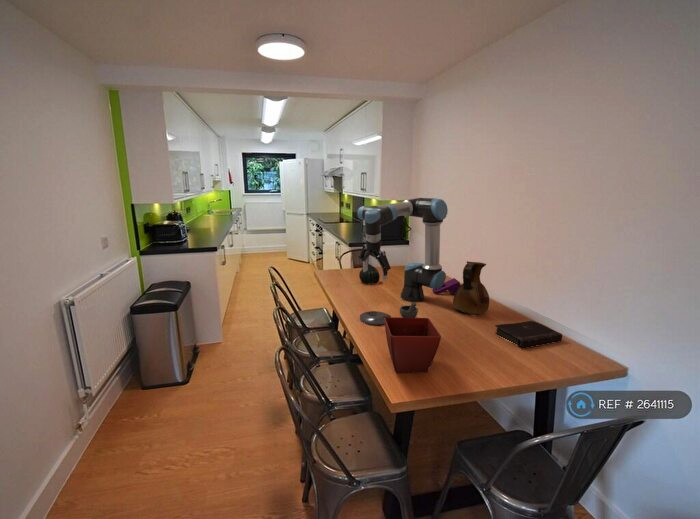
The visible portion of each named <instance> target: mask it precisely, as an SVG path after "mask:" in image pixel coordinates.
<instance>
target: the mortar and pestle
mask: <svg viewBox="0 0 700 519" xmlns="http://www.w3.org/2000/svg"><path fill="white" fill-rule="evenodd" d="M418 312H419V308H418V307H417V302H411V304H410V305H402V306H400V307H399V314H400V316H401V317H402V318H417V316H418Z"/></svg>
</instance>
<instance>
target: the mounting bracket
mask: <svg viewBox="0 0 700 519" xmlns="http://www.w3.org/2000/svg"><path fill="white" fill-rule="evenodd" d="M461 285H462V284H461V282H460V281H459V280H457V279H456V278H455V277H454V278H451V279H450V280H447V281H445V282H444V284H443V285H442V286H441V287H440V288H439V289H434V288H431V290H432V293H433V295H434V294H435V295H439V294H442V293H445V292H447V291H448V292H449V293H450V294H451V295H453V296H454V295H455V293H456V291H457V290H458V288H459V287H460V286H461Z"/></svg>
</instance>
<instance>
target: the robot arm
mask: <svg viewBox="0 0 700 519" xmlns="http://www.w3.org/2000/svg"><path fill="white" fill-rule="evenodd" d="M448 210H449V209H448V206H447V202H446V201H445V200H444V199H441V198H437V197H436V198H433V197H432V198H431V197H430V198H429V197H417V198H411V199H405V200H403V201H402V202H395V203H387V204H378V205H377V204H376V205H370V206H369V205H362V206H360V207H359V208H358V210H357V217H358V219H359V220H360V221H361V220H362V221H364V226H365V227H364V229H365V230H364V231H365V244H363V245H362V249H361V252H360V254H359V256H358V258H359V259H360V260H361V262H362V264H361V265H362V268H363V272H366V271H367V270H368V264H369V263H368V258H369V256H371V257H373V258H375V260H377V262H378V264H379V265H380V266H381V281H382V282H384V281H386V280H387V279H388V278H387V276H388V271H390V270H391V265H390V263H389V260H388V258H387V254H386V253H387V252H386V250H381V247H382V240H381V239H382V237H381V236H382V233H381V230H382V229H381V227H383V226H385V225H387V224H389V223H391V222H393V221H394V220H396V219H397V218H398V217H414V218H421V219H422V223H423V224H424V263H422V262H410V263H406V264H405V265H404V277H403V278H404V281H403V283H404V284H403V287H402V291H401V293H400V299H401V298H402V300H403V299H404V300H403V301H407V302H411V303H412V302H415V303H417V302H422V301H424V300H425V293H424V289H423V286H424V287H426V288H429V289H433V288H434V289H439V288H440V287H441V286H442V285H443V284H444V282H446V279H447V278H446V277H447V275H446V274H447V273H446V272H445V271H444V270H443V266H442V265H441V263H440V259H441V258H440V256H441V255H440V250H441V248H440V247H441V224H443V222H444V220H445V219H446V218H447V215H448V213H449V212H448Z"/></svg>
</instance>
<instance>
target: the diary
mask: <svg viewBox="0 0 700 519" xmlns="http://www.w3.org/2000/svg"><path fill="white" fill-rule="evenodd" d="M494 327H495V328H496V334H497V335H499V336H501V337H503V338H505V339H507V340H509V341H511V342H513V343H515V344H517V345H519V346H522V347H521V348H525V349H527V348H526V347H530V348H532V347H531V346H535V347H537V346H536V345H541V346H543V345H542V344H546V345H548V344H547V343H551V344H553V343H552V342H557V343H559V342H558V341H561V342H562V340H563V334H562V332H558V331H557V330H554V329H552V328H551V327H549V326H547V325H544V324H542V323H540V322H538V321H535V320H526V321H521V322H513V323H502V324H496V325H494ZM513 343H512V344H513ZM515 344H514V345H515ZM519 346H518V347H519Z"/></svg>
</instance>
